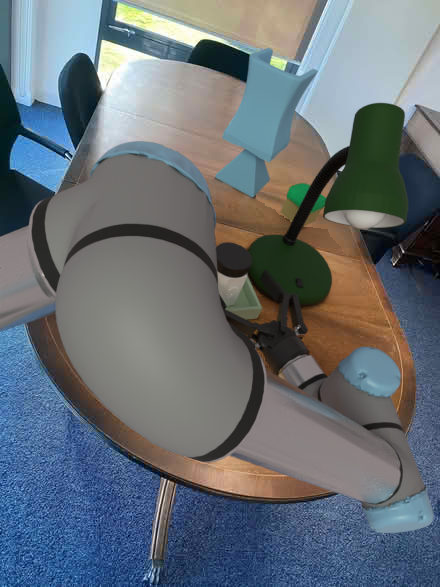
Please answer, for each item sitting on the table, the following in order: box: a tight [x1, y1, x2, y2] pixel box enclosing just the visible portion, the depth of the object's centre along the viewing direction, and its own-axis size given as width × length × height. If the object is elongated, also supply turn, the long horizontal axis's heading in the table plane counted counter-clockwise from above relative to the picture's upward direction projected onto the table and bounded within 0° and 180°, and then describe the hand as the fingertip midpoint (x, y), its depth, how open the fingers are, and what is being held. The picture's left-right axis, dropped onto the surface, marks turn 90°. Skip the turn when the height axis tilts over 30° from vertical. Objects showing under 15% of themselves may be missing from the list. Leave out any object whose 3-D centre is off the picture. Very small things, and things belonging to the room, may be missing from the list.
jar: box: [216, 241, 252, 306], centre depth 83 cm, size 9×8×12 cm
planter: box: [214, 47, 319, 198], centre depth 113 cm, size 16×16×35 cm
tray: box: [225, 275, 264, 320], centre depth 86 cm, size 15×15×4 cm
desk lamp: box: [247, 102, 410, 308], centre depth 80 cm, size 31×23×45 cm
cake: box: [279, 182, 327, 227], centre depth 116 cm, size 10×11×10 cm
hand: (236, 279), depth 79 cm, fingers open, 13 cm apart
